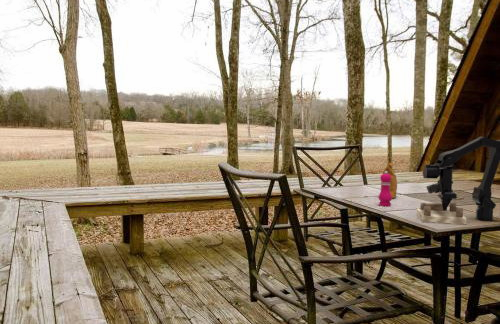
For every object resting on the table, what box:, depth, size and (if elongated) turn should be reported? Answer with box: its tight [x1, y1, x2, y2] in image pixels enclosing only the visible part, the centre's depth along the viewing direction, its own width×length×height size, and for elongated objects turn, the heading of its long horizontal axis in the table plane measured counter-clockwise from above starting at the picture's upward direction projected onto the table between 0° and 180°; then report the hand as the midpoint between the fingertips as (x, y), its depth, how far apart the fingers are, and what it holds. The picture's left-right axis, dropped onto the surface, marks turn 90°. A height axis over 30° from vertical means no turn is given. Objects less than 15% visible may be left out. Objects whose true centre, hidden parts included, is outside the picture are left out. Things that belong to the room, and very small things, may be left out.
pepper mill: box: [378, 171, 393, 207], centre depth 239 cm, size 7×7×20 cm
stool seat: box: [416, 202, 467, 225], centre depth 205 cm, size 19×19×7 cm
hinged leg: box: [419, 202, 448, 211], centre depth 212 cm, size 12×3×3 cm, turn 76°
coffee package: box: [380, 162, 398, 199], centre depth 266 cm, size 10×12×22 cm
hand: (444, 210), depth 205 cm, fingers closed
